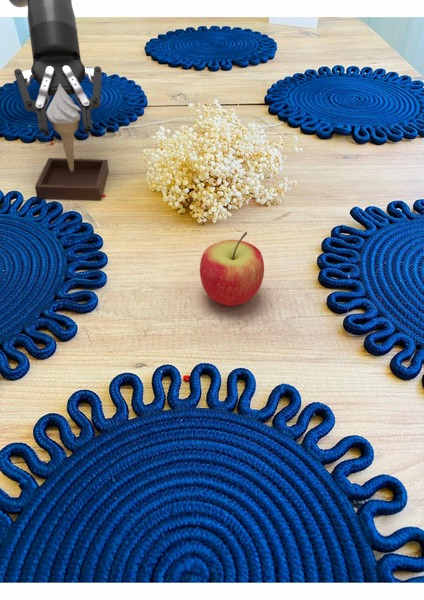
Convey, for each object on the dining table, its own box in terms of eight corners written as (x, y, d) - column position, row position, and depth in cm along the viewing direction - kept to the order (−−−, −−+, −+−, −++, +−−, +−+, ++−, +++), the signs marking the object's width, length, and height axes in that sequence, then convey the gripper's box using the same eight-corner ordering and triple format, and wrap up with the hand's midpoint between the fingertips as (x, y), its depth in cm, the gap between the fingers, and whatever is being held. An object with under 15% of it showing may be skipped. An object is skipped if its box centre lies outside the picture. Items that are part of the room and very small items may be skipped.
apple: (273, 305, 71) (282, 243, 64) (218, 325, 67) (222, 262, 61) (239, 271, 76) (245, 211, 69) (187, 289, 73) (188, 227, 66)
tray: (37, 198, 89) (34, 186, 88) (50, 169, 97) (48, 157, 96) (100, 200, 90) (99, 188, 88) (108, 171, 98) (107, 159, 96)
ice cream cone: (53, 166, 93) (38, 78, 83) (85, 162, 95) (74, 75, 85) (58, 181, 89) (43, 91, 79) (91, 176, 91) (81, 87, 81)
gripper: (2, 19, 81) (16, 126, 80) (98, 17, 84) (112, 121, 83) (11, 46, 89) (23, 144, 88) (98, 43, 92) (111, 139, 91)
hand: (66, 132), depth 86 cm, fingers closed on ice cream cone, 5 cm apart
